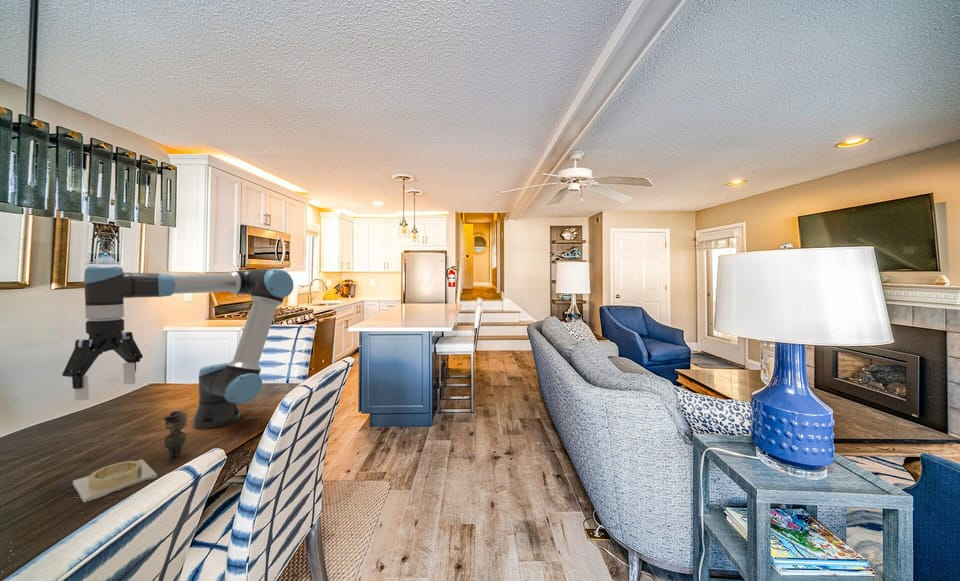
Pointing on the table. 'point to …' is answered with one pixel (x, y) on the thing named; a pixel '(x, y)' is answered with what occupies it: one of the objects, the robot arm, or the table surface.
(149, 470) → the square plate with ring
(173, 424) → the dark brown lumpy column
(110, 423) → the table surface
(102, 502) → the table surface
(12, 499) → the table surface
